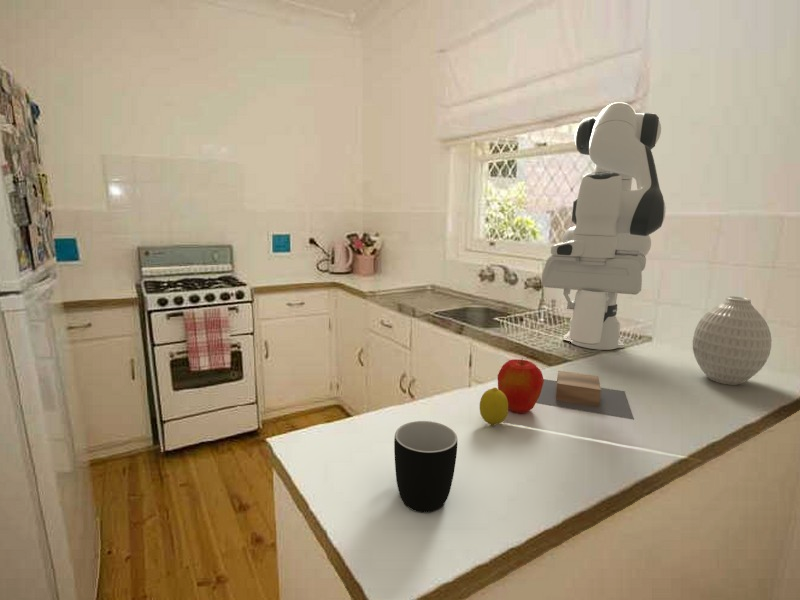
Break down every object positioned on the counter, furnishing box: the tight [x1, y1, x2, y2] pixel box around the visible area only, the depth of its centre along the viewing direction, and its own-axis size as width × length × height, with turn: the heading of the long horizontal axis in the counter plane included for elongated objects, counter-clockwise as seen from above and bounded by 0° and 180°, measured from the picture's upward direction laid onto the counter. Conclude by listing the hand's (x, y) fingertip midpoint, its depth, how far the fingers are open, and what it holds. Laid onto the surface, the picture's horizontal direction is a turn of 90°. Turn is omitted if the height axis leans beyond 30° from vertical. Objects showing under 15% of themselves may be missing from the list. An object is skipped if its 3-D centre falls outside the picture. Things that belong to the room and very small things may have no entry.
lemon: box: [479, 387, 509, 427], centre depth 86 cm, size 6×6×8 cm
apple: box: [497, 357, 545, 414], centre depth 92 cm, size 9×9×12 cm
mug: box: [393, 420, 458, 513], centre depth 64 cm, size 12×9×10 cm
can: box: [570, 289, 607, 344], centre depth 97 cm, size 6×6×12 cm
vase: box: [692, 295, 773, 386], centre depth 113 cm, size 16×16×22 cm
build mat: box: [536, 378, 635, 420], centre depth 101 cm, size 16×22×1 cm
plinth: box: [556, 370, 602, 407], centre depth 101 cm, size 9×9×4 cm
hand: (586, 310), depth 97 cm, fingers closed on can, 5 cm apart
